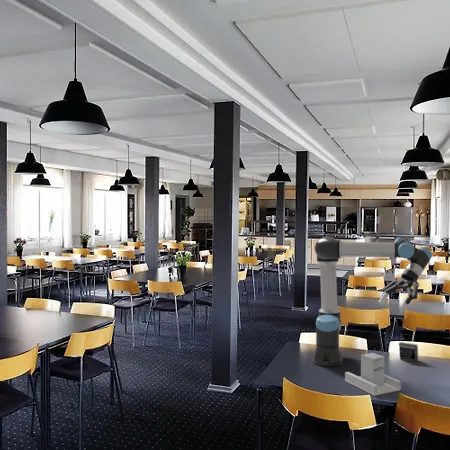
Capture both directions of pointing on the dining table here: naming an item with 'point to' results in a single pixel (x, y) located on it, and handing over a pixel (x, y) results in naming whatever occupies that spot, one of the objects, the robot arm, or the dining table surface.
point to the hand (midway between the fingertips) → (390, 306)
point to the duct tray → (380, 388)
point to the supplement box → (372, 368)
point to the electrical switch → (408, 351)
